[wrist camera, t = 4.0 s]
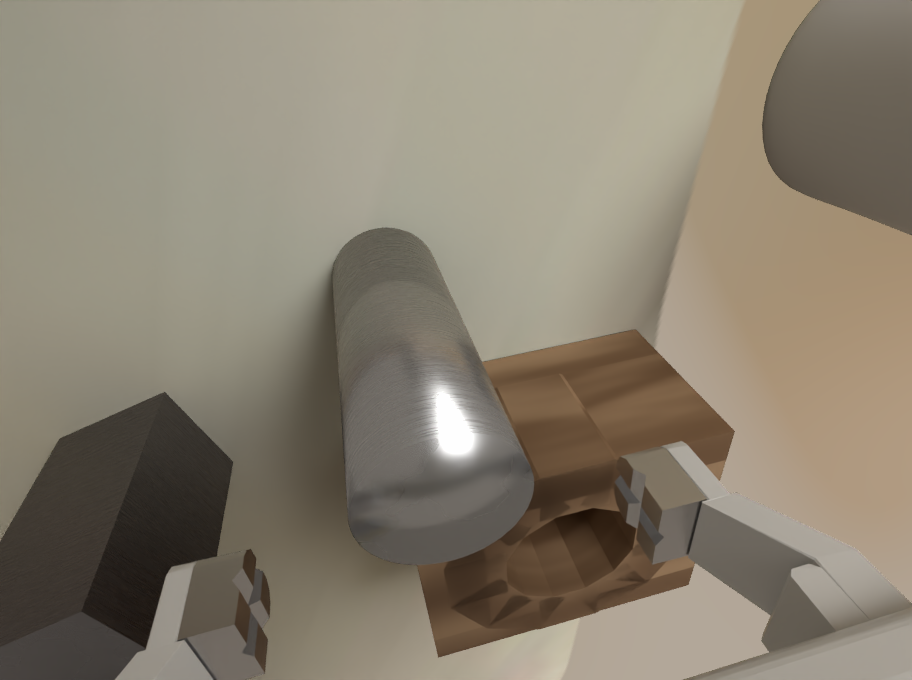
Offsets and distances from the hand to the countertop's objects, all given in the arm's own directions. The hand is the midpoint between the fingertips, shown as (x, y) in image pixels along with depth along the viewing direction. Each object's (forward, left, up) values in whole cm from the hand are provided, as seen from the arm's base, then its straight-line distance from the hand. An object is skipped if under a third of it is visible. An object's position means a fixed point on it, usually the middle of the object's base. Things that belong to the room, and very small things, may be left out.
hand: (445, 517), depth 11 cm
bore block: (+9, +5, -11) cm, 15 cm away
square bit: (+5, -11, -11) cm, 16 cm away
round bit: (-1, 0, -11) cm, 11 cm away
